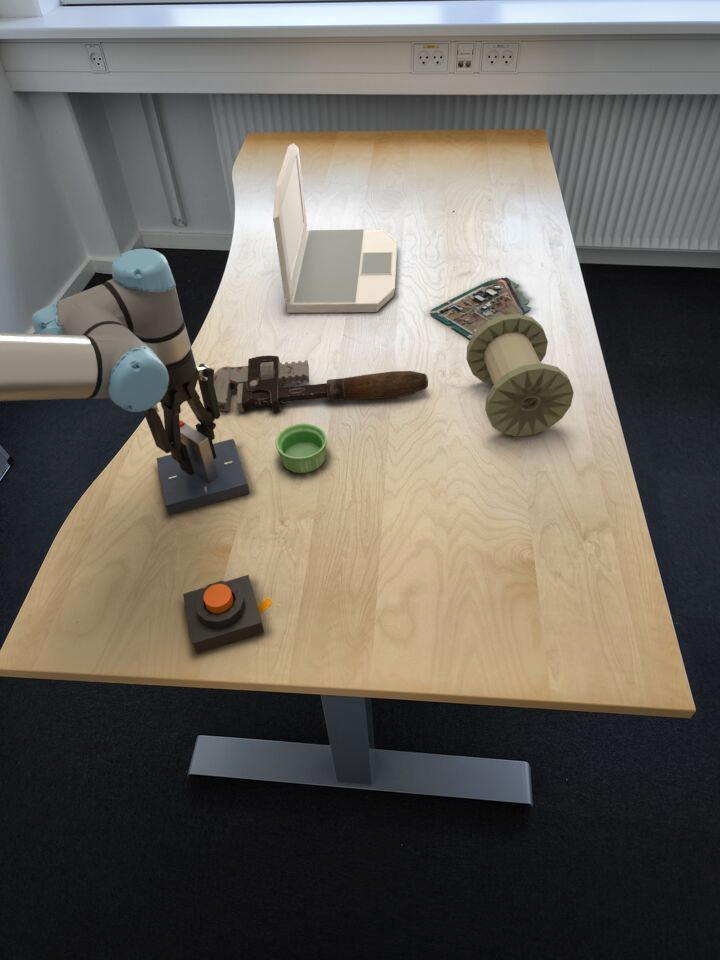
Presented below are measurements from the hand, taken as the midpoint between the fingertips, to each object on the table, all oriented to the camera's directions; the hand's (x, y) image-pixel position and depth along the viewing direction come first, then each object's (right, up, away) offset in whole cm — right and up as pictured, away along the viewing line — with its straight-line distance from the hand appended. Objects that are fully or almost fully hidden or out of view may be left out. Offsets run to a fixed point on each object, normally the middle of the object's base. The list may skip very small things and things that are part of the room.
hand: (198, 462), depth 126 cm
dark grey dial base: (0, -3, +3) cm, 4 cm away
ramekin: (+18, +1, +6) cm, 19 cm away
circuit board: (+54, +35, +36) cm, 74 cm away
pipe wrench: (+20, +15, +19) cm, 31 cm away
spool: (+57, +11, +13) cm, 59 cm away
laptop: (+24, +46, +49) cm, 71 cm away
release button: (+7, -21, -20) cm, 30 cm away
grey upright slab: (0, -1, +1) cm, 2 cm away
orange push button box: (+8, -23, -17) cm, 30 cm away
